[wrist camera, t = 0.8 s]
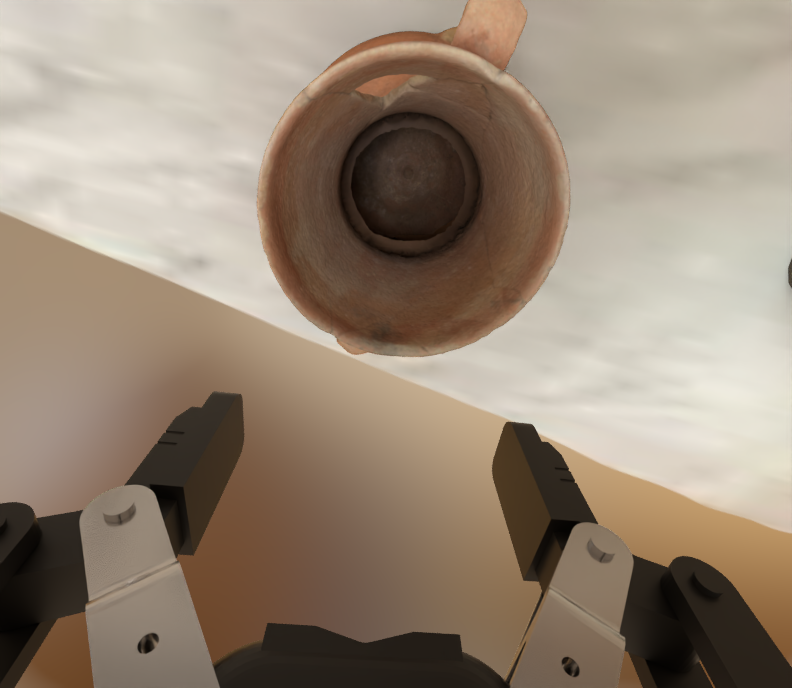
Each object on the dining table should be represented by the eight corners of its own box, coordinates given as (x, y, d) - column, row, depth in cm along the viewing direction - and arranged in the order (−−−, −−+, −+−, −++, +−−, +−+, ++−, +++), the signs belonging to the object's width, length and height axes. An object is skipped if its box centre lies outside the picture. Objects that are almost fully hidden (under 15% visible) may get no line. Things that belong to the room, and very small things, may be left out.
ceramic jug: (352, -41, 22) (293, -189, 10) (571, 86, 25) (723, 87, 13) (270, 249, 31) (186, 352, 19) (438, 317, 34) (457, 443, 22)
